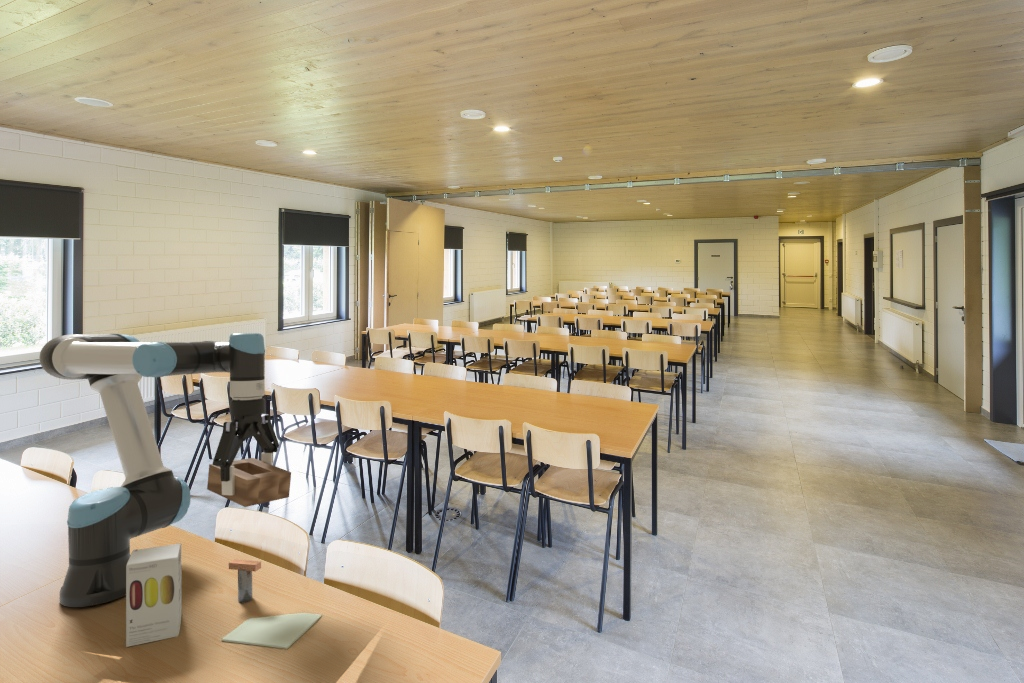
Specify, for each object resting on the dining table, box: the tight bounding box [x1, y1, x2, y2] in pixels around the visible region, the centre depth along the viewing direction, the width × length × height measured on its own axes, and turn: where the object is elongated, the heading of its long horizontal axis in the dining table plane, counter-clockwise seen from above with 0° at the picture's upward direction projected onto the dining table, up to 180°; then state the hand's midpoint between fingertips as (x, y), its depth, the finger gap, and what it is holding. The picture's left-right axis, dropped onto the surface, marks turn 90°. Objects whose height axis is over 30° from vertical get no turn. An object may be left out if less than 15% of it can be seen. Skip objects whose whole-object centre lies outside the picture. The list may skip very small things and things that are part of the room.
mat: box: [221, 612, 323, 650], centre depth 119 cm, size 15×13×1 cm
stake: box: [228, 558, 262, 604], centre depth 129 cm, size 7×4×10 cm, turn 78°
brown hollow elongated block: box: [206, 457, 292, 508], centre depth 132 cm, size 11×16×6 cm
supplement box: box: [125, 542, 183, 648], centre depth 118 cm, size 10×9×17 cm
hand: (248, 487), depth 132 cm, fingers closed on brown hollow elongated block, 13 cm apart
